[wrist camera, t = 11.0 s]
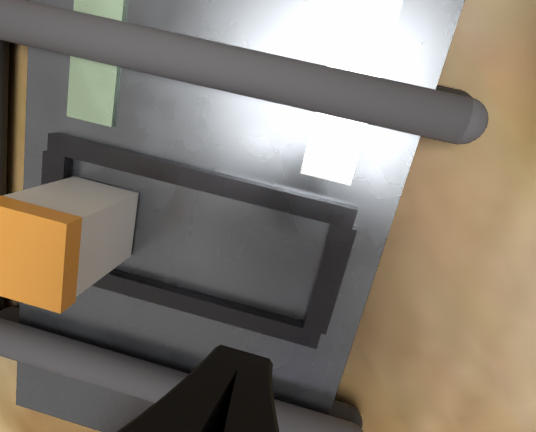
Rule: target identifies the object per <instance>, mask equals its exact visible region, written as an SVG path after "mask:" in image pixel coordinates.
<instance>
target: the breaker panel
mask: <svg viewBox="0 0 536 432" xmlns="http://www.w3.org/2000/svg"><path fill="white" fill-rule="evenodd" d="M30 1H32V2H37V3H41V4H46V5H50V6H55V7H60V8H64V9H69V10H73V11H78V12H82V13H87V14H92V15H96V16H101V17H105V18H110V19H115V20H119V21H124V22H128V23H133V24H137V25H142V26H147V27H151V28H156V29H160V30H165V31H169V32H174V33H179V34H183V35H188V36H192V37H197V38H202V39H206V40H211V41H215V42H220V43H224V44H229V45H234V46H238V47H243V48H247V49H252V50H257V51H261V52H266V53H270V54H275V55H279V56H284V57H289V58H293V59H298V60H302V61H307V62H311V63H316V64H321V65H325V66H330V67H334V68H339V69H344V70H348V71H353V72H357V73H362V74H366V75H371V76H376V77H380V78H385V79H389V80H394V81H399V82H403V83H408V84H412V85H417V86H421V87H426V88H431V89H436V86H437V83H438V80H439V77H440V74H441V71H442V68H443V65H444V62H445V59H446V56H447V53H448V50H449V47H450V44H451V40H452V37H453V34H454V31H455V28H456V25H457V22H458V19H459V16H460V13H461V10H462V7H463V4H464V1H465V0H30ZM419 138H420V136H418V135H413V134H409V133H405V132H400V131H396V130H392V129H387V128H383V127H379V126H374V125H370V124H365V123H361V122H357V121H352V120H348V119H344V118H339V117H335V116H331V115H326V114H322V113H317V112H313V111H309V110H304V109H300V108H296V107H291V106H287V105H283V104H278V103H274V102H269V101H265V100H261V99H256V98H252V97H248V96H243V95H239V94H235V93H230V92H226V91H222V90H217V89H213V88H208V87H204V86H200V85H195V84H191V83H187V82H182V81H178V80H174V79H169V78H165V77H160V76H156V75H152V74H147V73H143V72H139V71H134V70H130V69H126V68H121V67H117V66H112V65H108V64H104V63H99V62H95V61H91V60H86V59H82V58H78V57H73V56H69V55H65V54H60V53H56V52H51V51H47V50H43V49H38V48H34V47H30V46H28V69H27V98H26V127H25V156H24V185H23V190H25V189H29V188H33V187H36V186H40V185H44V184H47V183H51V182H55V181H59V180H62V179H66V178H70V177H74V176H75V177H79V178H83V179H87V180H90V181H94V182H98V183H102V184H106V185H110V186H114V187H118V188H122V189H125V190H129V191H133V192H137V193H139V195H138V203H137V211H136V219H135V227H134V235H133V243H132V252H131V256H130V257H129V258H128V259H126V260H125V261H124V262H122V263H121V264H120V265H118V266H117V267H116V268H114V269H113V270H112V271H110V272H109V273H108V274H106V275H105V276H103V277H102V278H101V279H99V280H98V281H97V282H95V283H94V284H93V285H91V286H90V287H89V288H87V289H86V290H85V291H83V292H82V293H81V294H79V295H78V296H77V297H76V301H75V303H74V304H73V305H71V306H70V307H69V308H67V309H66V310H65V311H63V312H62V313H61V314H60V313H56V312H53V311H49V310H46V309H43V308H39V307H36V306H32V305H29V304H25V303H22V302H19V323H20V324H23V325H26V326H30V327H33V328H36V329H40V330H43V331H47V332H50V333H53V334H57V335H60V336H63V337H67V338H70V339H73V340H77V341H80V342H84V343H87V344H90V345H94V346H97V347H100V348H104V349H107V350H111V351H114V352H117V353H121V354H124V355H127V356H131V357H134V358H138V359H141V360H144V361H148V362H151V363H154V364H158V365H161V366H164V367H168V368H171V369H175V370H178V371H181V372H185V373H188V374H190V373H191V372H192V371H193V370H194V369H195V368H196V367H197V366H198V365H199V364H200V363H201V362H202V361H203V360H204V359H205V358H206V357H207V356H208V355H209V354H210V353H211V352H212V350H213V349H214V348H215V347H217V346H219V345H224V346H228V347H231V348H235V349H238V350H242V351H245V352H249V353H252V354H256V355H259V356H262V357H266V358H269V359H270V360H271V362H272V363H273V369H272V382H273V394H274V399H276V400H279V401H282V402H286V403H289V404H293V405H296V406H299V407H303V408H306V409H309V410H313V411H316V412H320V413H323V414H326V415H329V414H330V411H331V408H332V405H333V402H334V399H335V396H336V393H337V389H338V386H339V383H340V380H341V377H342V374H343V371H344V368H345V365H346V362H347V359H348V356H349V353H350V350H351V347H352V344H353V340H354V337H355V334H356V331H357V328H358V325H359V322H360V319H361V316H362V313H363V310H364V307H365V304H366V301H367V298H368V295H369V292H370V288H371V285H372V282H373V279H374V276H375V273H376V270H377V267H378V264H379V261H380V258H381V255H382V252H383V249H384V246H385V243H386V239H387V236H388V233H389V230H390V227H391V224H392V221H393V218H394V215H395V212H396V209H397V206H398V203H399V200H400V197H401V194H402V190H403V187H404V184H405V181H406V178H407V175H408V172H409V169H410V166H411V163H412V160H413V157H414V154H415V151H416V148H417V145H418V141H419ZM153 404H154V403H153V402H150V401H146V400H143V399H140V398H137V397H133V396H130V395H127V394H123V393H120V392H117V391H114V390H110V389H107V388H104V387H101V386H97V385H94V384H91V383H88V382H84V381H81V380H78V379H74V378H71V377H68V376H65V375H61V374H58V373H55V372H52V371H48V370H45V369H42V368H38V367H35V366H32V365H29V364H25V363H22V362H19V361H17V390H16V405H19V406H22V407H25V408H28V409H31V410H35V411H38V412H41V413H44V414H47V415H50V416H54V417H57V418H60V419H63V420H66V421H69V422H73V423H76V424H79V425H82V426H85V427H88V428H91V429H95V430H98V431H101V432H117V431H118V430H119V429H121V428H122V427H124V426H125V425H127V424H128V423H129V422H131V421H132V420H133V419H135V418H136V417H137V416H139V415H140V414H141V413H143V412H144V411H145V410H146V409H148V408H149V407H150V406H152V405H153Z"/></svg>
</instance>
